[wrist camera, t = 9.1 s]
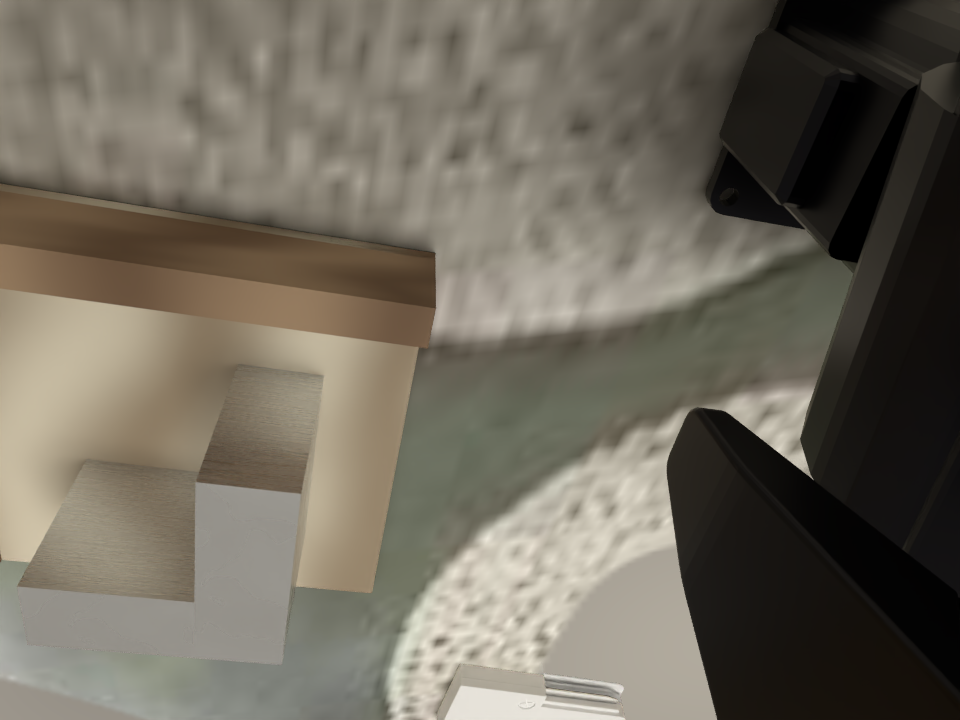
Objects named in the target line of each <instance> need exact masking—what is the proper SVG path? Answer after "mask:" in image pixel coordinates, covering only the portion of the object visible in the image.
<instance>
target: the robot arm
mask: <svg viewBox="0 0 960 720" xmlns="http://www.w3.org/2000/svg"><path fill="white" fill-rule="evenodd" d="M720 138H721V140H722V142H723V144H724V145H723V147H722V150H721V153H720V155H719V158H718V160H717V163H716V166H715V168H714V171H713V173H712V176H711V179H710V181H709V184H708V186H707V190H706V198H707V202H708V203H709V204H710V206H711V207H712V208H713V209H714V210H715V212H717V213H719V214H722V215H727V216H733V217H739V218H744V219H750V220H755V221H761V222H767V223H772V224H778V225H783V226H789V227H795V228H800V229H806V230H807V231H808V233H809V234H810V235H811V236H812V237H813V238H814V239H815V240H816V241H817V242H818V243H819V244H820V245H821V247H822V248H823V249H824V250H825V251H826V252H827V253H828V254H829V255H830V256H831V257H833V258H835V259H837V260H841V261H842V262H843V263H844V264H845V265H846V266H847V267H848V268H849V269H850V270H851V271H852V272H853V273H854V275H853V278H852V281H851V284H850V287H849V290H848V292H847V295H846V298H845V301H844V304H843V307H842V310H841V313H840V316H839V319H838V322H837V325H836V328H835V331H834V334H833V336H832V339H831V342H830V345H829V348H828V351H827V354H826V357H825V360H824V363H823V366H822V369H821V372H820V375H819V378H818V380H817V383H816V386H815V389H814V392H813V395H812V398H811V401H810V404H809V407H808V410H807V413H806V417H805V422H804V426H803V430H802V434H801V438H800V440H801V444H802V447H803V450H804V454H805V457H806V461H807V464H808V467H809V471H810V474H811V476H812V478H813V479H814V480H813V479H812V478H810V477H809V476H808V475H806V474H805V473H804V472H803V471H801V470H800V469H799V468H797V467H796V466H795V465H794V464H792V463H791V462H790V461H788V460H787V459H786V458H785V457H783V456H782V455H781V454H780V453H778V452H777V451H776V450H774V449H773V448H772V447H771V446H769V445H768V444H767V443H765V442H764V441H763V440H762V439H760V438H759V437H758V436H756V435H755V434H754V433H753V432H751V431H750V430H749V429H747V428H746V427H745V426H744V425H742V424H741V423H740V422H739V421H737V420H736V419H735V418H733V417H732V416H731V415H730V414H728V413H727V412H725V411H722V410H715V409H707V408H699V407H697V408H694V409H692V410H691V411H690V412H689V413H688V415H687V416H686V418H685V420H684V423H683V425H682V427H681V429H680V432H679V434H678V436H677V438H676V441H675V443H674V445H673V448H672V450H671V452H670V455H669V458H668V462H667V480H668V487H669V494H670V501H671V509H672V516H673V523H674V531H675V538H676V545H677V552H678V559H679V566H680V572H681V578H682V583H683V587H684V591H685V595H686V600H687V604H688V607H689V611H690V615H691V619H692V623H693V627H694V631H695V635H696V639H697V642H698V646H699V650H700V654H701V658H702V662H703V666H704V670H705V673H706V677H707V681H708V685H709V689H710V693H711V697H712V700H713V705H714V708H715V712H716V716H717V720H960V0H779V2H778V4H777V7H776V10H775V12H774V15H773V17H772V20H771V23H770V25H769V28H767V29H765V30H764V31H763V32H761V33H760V34H759V35H757V36H756V38H755V41H754V43H753V46H752V49H751V51H750V54H749V57H748V59H747V62H746V65H745V67H744V70H743V73H742V75H741V78H740V80H739V83H738V86H737V88H736V91H735V94H734V96H733V99H732V102H731V104H730V107H729V110H728V112H727V115H726V117H725V120H724V123H723V125H722V128H721V131H720ZM727 188H734V192H733V194H732V196H731V197H730V198H728V199H726V200H719V199H720V195H721V193H722V192H723V191H724V190H726V189H727Z"/></svg>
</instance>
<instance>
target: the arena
mask: <svg viewBox="0 0 960 720" xmlns="http://www.w3.org/2000/svg"><path fill="white" fill-rule="evenodd" d="M435 310H436V278H435V253H431V252H425V251H418V250H412V249H406V248H400V247H393V246H387V245H381V244H375V243H368V242H362V241H356V240H350V239H343V238H337V237H331V236H325V235H318V234H312V233H306V232H300V231H293V230H287V229H281V228H275V227H268V226H262V225H256V224H250V223H243V222H237V221H231V220H225V219H218V218H212V217H206V216H200V215H193V214H187V213H181V212H175V211H168V210H162V209H156V208H150V207H144V206H137V205H131V204H125V203H119V202H112V201H106V200H100V199H94V198H87V197H81V196H75V195H69V194H62V193H56V192H50V191H44V190H37V189H31V188H25V187H19V186H12V185H6V184H0V562H1V560H10V561H21V562H31V560H32V558H33V556H34V555H35V553H36V551H37V549H38V547H39V545H40V544H41V542H42V540H43V538H44V536H45V534H46V533H47V531H48V529H49V527H50V525H51V523H52V522H53V520H54V518H55V516H56V514H57V512H58V511H59V509H60V507H61V505H62V503H63V502H64V500H65V498H66V496H67V494H68V492H69V491H70V489H71V487H72V485H73V483H74V481H75V480H76V478H77V476H78V474H79V472H80V470H81V469H82V467H83V465H84V463H85V461H86V459H91V460H99V461H108V462H117V463H125V464H134V465H143V466H151V467H160V468H169V469H177V470H186V471H195V472H199V471H200V468H201V465H202V463H203V460H204V457H205V454H206V452H207V449H208V446H209V443H210V440H211V438H212V435H213V432H214V429H215V427H216V424H217V421H218V418H219V416H220V413H221V410H222V407H223V404H224V402H225V399H226V396H227V393H228V391H229V388H230V385H231V382H232V380H233V377H234V374H235V371H236V369H237V366H238V364H244V365H251V366H258V367H266V368H273V369H280V370H287V371H295V372H302V373H309V374H316V375H324V382H323V390H322V398H321V406H320V415H319V423H318V431H317V439H316V448H315V456H314V464H313V472H312V481H311V489H310V497H309V505H308V514H307V522H306V530H305V538H304V544H303V549H302V555H301V560H300V566H299V571H298V577H297V583H296V586H298V587H309V588H320V589H331V590H342V591H353V592H364V593H372V590H373V584H374V579H375V574H376V569H377V563H378V558H379V553H380V548H381V542H382V537H383V532H384V527H385V521H386V516H387V511H388V506H389V500H390V495H391V490H392V485H393V479H394V474H395V469H396V464H397V458H398V453H399V448H400V443H401V437H402V432H403V427H404V422H405V416H406V411H407V406H408V401H409V395H410V390H411V385H412V380H413V374H414V369H415V364H416V359H417V354H418V348H419V347H420V348H427V349H428V345H429V340H430V335H431V330H432V325H433V320H434V315H435Z"/></svg>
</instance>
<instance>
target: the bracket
mask: <svg viewBox="0 0 960 720" xmlns="http://www.w3.org/2000/svg"><path fill="white" fill-rule="evenodd" d="M323 382H324V375H316V374H309V373H302V372H295V371H287V370H280V369H273V368H266V367H258V366H251V365H244V364H238V366H237V369H236V371H235V374H234V377H233V380H232V382H231V385H230V388H229V391H228V393H227V396H226V399H225V402H224V404H223V407H222V410H221V413H220V416H219V418H218V421H217V424H216V427H215V429H214V432H213V435H212V438H211V440H210V443H209V446H208V449H207V452H206V454H205V457H204V460H203V463H202V465H201V468H200V471H199V472H195V471H186V470H177V469H169V468H160V467H151V466H143V465H134V464H125V463H117V462H108V461H99V460H91V459H86V461H85V463H84V465H83V467H82V469H81V470H80V472H79V474H78V476H77V478H76V480H75V481H74V483H73V485H72V487H71V489H70V491H69V492H68V494H67V496H66V498H65V500H64V502H63V503H62V505H61V507H60V509H59V511H58V512H57V514H56V516H55V518H54V520H53V522H52V523H51V525H50V527H49V529H48V531H47V533H46V534H45V536H44V538H43V540H42V542H41V544H40V545H39V547H38V549H37V551H36V553H35V555H34V556H33V558H32V560H31V562H30V564H29V565H28V567H27V569H26V571H25V573H24V575H23V576H22V578H21V580H20V582H19V584H18V586H17V589H18V595H19V600H20V606H21V611H22V617H23V622H24V628H25V633H26V639H27V645H35V646H48V647H61V648H74V649H86V650H99V651H112V652H124V653H137V654H150V655H163V656H175V657H188V658H201V659H213V660H226V661H239V662H251V663H264V664H277V665H282V661H283V655H284V649H285V644H286V638H287V633H288V627H289V622H290V616H291V610H292V605H293V599H294V594H295V588H296V583H297V577H298V571H299V566H300V560H301V555H302V549H303V544H304V538H305V530H306V522H307V514H308V505H309V497H310V489H311V481H312V472H313V464H314V456H315V448H316V439H317V431H318V423H319V415H320V406H321V398H322V390H323Z"/></svg>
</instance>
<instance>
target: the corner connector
mask: <svg viewBox="0 0 960 720" xmlns="http://www.w3.org/2000/svg"><path fill="white" fill-rule="evenodd" d="M623 691H624V687H623V685H622V684H620V683H613V682H606V681H599V680H592V679H585V678H578V677H570V676H563V675H556V674H548V673H543V665H542V666H541V668H540V670H539V671H538V672H537V674H531V673H524V672H517V671H509V670H502V669H495V668H488V667H481V666H473V665H466V664H460V665H459V667H458V669H457V672H456V674H455V676H454V678H453V680H452V682H451V684H450V686H449V689H448V691H447V693H446V695H445V697H444V699H443V701H442V703H441V705H440V708H439V710H438V712H437V720H626V719H625V715H624V710H623V705H622V701H621V697H620V695H621V694H622V692H623Z"/></svg>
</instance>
